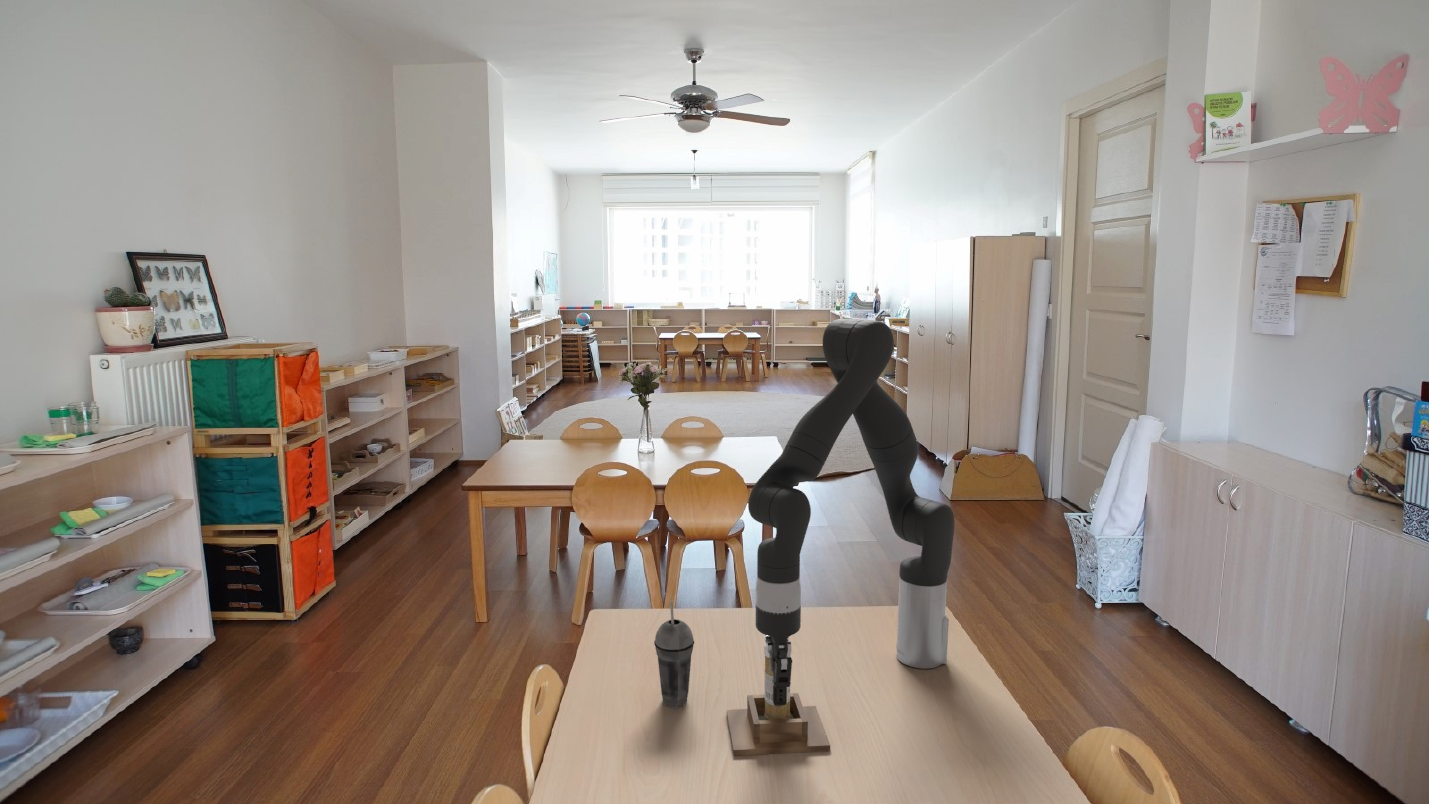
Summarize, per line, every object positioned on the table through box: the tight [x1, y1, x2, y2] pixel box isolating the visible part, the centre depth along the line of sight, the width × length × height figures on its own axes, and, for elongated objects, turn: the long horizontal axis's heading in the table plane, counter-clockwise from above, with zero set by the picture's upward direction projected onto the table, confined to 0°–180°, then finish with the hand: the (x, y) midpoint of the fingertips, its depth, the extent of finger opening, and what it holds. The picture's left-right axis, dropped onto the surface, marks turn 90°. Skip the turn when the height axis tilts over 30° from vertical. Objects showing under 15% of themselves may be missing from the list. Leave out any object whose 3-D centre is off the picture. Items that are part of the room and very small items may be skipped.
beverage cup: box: [653, 599, 695, 708], centre depth 146 cm, size 7×7×20 cm
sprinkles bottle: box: [763, 640, 792, 720], centre depth 136 cm, size 5×5×14 cm
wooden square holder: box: [726, 692, 831, 757], centre depth 137 cm, size 16×12×4 cm
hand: (777, 696), depth 136 cm, fingers closed on sprinkles bottle, 4 cm apart
